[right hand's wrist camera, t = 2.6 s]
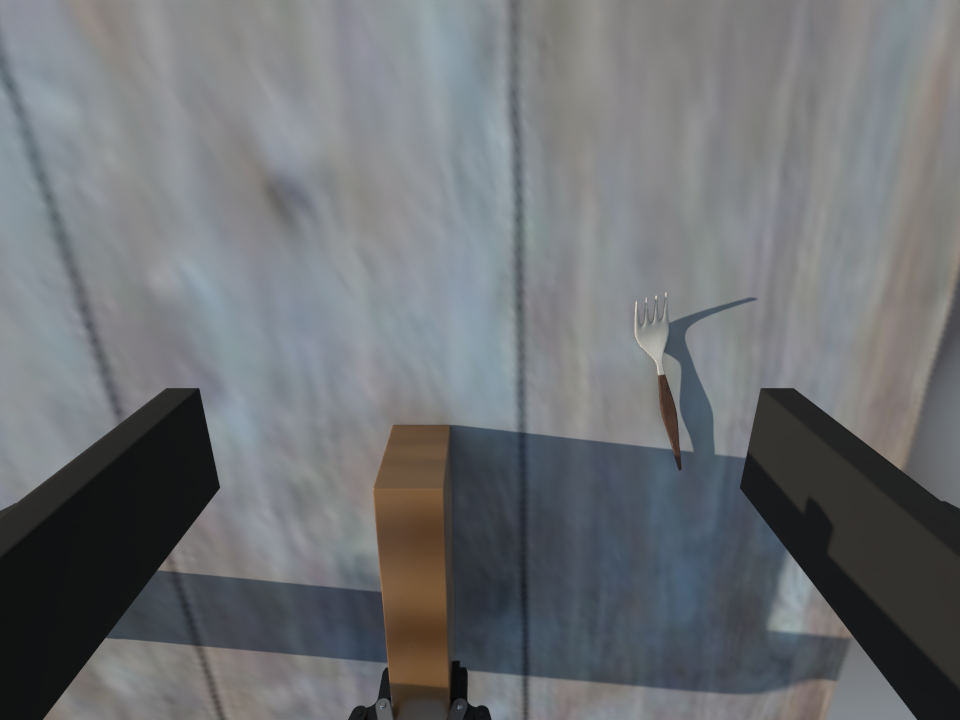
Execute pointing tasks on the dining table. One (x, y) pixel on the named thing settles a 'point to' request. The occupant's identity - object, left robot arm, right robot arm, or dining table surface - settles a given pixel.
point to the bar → (417, 568)
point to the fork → (660, 366)
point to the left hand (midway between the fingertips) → (426, 668)
